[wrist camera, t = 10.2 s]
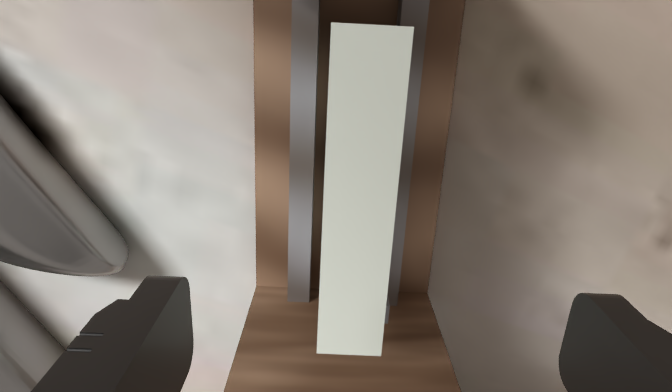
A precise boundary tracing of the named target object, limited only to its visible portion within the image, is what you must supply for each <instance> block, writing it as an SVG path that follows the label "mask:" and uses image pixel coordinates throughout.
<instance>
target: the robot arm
mask: <svg viewBox="0 0 672 392" xmlns="http://www.w3.org/2000/svg"><path fill="white" fill-rule="evenodd" d="M192 355H193V329H192V315H191V301H190V288H189V282H188V280H187V278H186V277H170V276H147V277H146V278H145V279H144V280H143V282H142V283H141V284H140V286H139V287H138V288H137V290H136V291H135V292H134V294H133V295H132V296H131V298H130V299H129V300H123V299H118V300H116V301H115V302H113V303H112V304H110V305H108V306H107V307H105V308H104V309H102V310H101V311H99V312H97V313H96V314H95V315H94V316H93V317H92V318H91V319H90V321H89V322H88V323H87V324H86V325H85V327H84V328H83V329H82V330H81V332H80V335H79V336H76V338H75V339H74V340H73V341H72V342H71V344H70V345H69V346H68V347H67V351H66V352H63V353H62V354H61V356H60V357H59V358H58V359H57V361H56V362H55V363H54V364H53V365H52V367H51V368H50V369H49V370H48V371H47V373H46V374H45V375H44V376H43V377H42V379H41V380H40V381H39V382H38V383H37V385H36V386H35V387H34V388H33V390H32V391H31V392H180V391H181V389H182V387H183V384H184V382H185V379H186V377H187V375H188V372H189V369H190V365H191V361H192ZM559 371H560V376H561V379H562V382H563V384H564V386H565V388H566V390H567V391H568V392H672V334H671V333H669V332H667V331H666V330H664V329H662V328H661V327H659V326H657V325H656V324H654V323H652V322H651V321H649V320H647V319H646V318H645V317H644V316H643V315H642V314H641V313H640V312H639V311H638V310H637V309H635V308H634V307H633V306H632V305H631V304H630V303H629V302H628V301H627V300H626V299H625V298H624V297H622V296H621V295H617V294H593V293H580V294H578V295H577V296H576V297H575V298H574V300H573V303H572V307H571V311H570V314H569V318H568V322H567V326H566V330H565V334H564V338H563V342H562V346H561V350H560V354H559Z"/></svg>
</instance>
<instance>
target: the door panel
mask: <svg viewBox="0 0 672 392" xmlns="http://www.w3.org/2000/svg"><path fill="white" fill-rule="evenodd" d="M413 33H414V27H409V26H390V25H371V24H353V23H334V22H331V36H330V58H329V81H328V104H327V127H326V149H325V172H324V195H323V218H322V240H321V263H320V286H319V309H318V331H317V353H318V354H341V355H365V356H381V353H382V343H383V333H384V323H385V324H388V319H389V309H390V305H389V300H388V295H387V293H388V283H389V273H390V263H391V253H392V243H393V233H394V223H395V213H396V203H397V193H398V183H399V173H400V163H401V153H402V143H403V133H404V123H405V113H406V103H407V93H408V83H409V73H410V63H411V53H412V43H413Z"/></svg>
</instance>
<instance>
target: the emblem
mask: <svg viewBox="0 0 672 392" xmlns="http://www.w3.org/2000/svg"><path fill="white" fill-rule="evenodd" d="M128 255H129V250H128V246H127V244H126V242H125V240H124V239H123V237H122V236H121V235H120V233H119V232H118V231H117V230H116V228H115V227H114V226H113V225H112V224H111V222H110V221H109V220H108V219H107V218H106V217H105V215H104V214H103V213H102V212H101V211H100V210H99V209H98V208H97V206H96V205H95V204H94V203H93V202H92V201H91V200H90V198H89V197H88V196H87V195H86V194H85V193H84V192H83V190H82V189H81V188H80V187H79V186H78V185H77V184H76V182H75V181H74V180H73V179H72V178H71V177H70V176H69V174H68V173H67V172H66V171H65V170H64V169H63V168H62V166H61V165H60V164H59V163H58V162H57V161H56V159H55V158H54V157H53V156H52V155H51V154H50V152H49V151H48V150H47V149H46V148H45V147H44V145H43V144H42V143H41V142H40V141H39V140H38V138H37V137H36V136H35V135H34V134H33V132H32V131H31V130H30V129H29V128H28V127H27V125H26V124H25V123H24V122H23V121H22V119H21V118H20V117H19V116H18V115H17V113H16V112H15V111H14V110H13V109H12V108H11V106H10V105H9V104H8V103H7V102H6V100H5V99H4V98H3V97H2V96H1V94H0V261H2V262H5V263H8V264H12V265H16V266H19V267H24V268H28V269H32V270H38V271H43V272H49V273H55V274H64V275H74V276H104V275H111V274H115V273H117V272H120V271H121V270H122V269H123V268H124V266H125V263H126V261H127V258H128ZM63 352H66V350H65V349H64V348H63V347H62V346H61V345H60V344H59V343H58V342H57V341H56V340H55V338H54V337H53V336H52V335H51V334H50V333H49V332H48V331H47V330H46V329H45V328H44V327H43V326H42V325H41V323H40V322H39V321H38V320H37V319H36V318H35V317H34V316H33V315H32V314H31V313H30V312H29V311H28V309H27V308H26V307H25V306H24V305H23V304H22V303H21V302H20V301H19V300H18V299H17V298H16V297H15V296H14V294H13V293H12V292H11V291H10V290H9V289H8V288H7V287H6V286H5V285H4V284H3V283H2V282H1V281H0V392H31V391H32V390H33V388H34V387H35V386H36V385H37V383H38V382H39V381H40V380H41V379H42V377H43V376H44V375H45V374H46V373H47V371H48V370H49V369H50V368H51V367H52V365H53V364H54V363H55V362H56V361H57V359H58V358H59V357H60V356H61V354H62V353H63Z"/></svg>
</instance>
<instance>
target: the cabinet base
mask: <svg viewBox="0 0 672 392" xmlns="http://www.w3.org/2000/svg"><path fill="white" fill-rule="evenodd" d="M464 6H465V0H253V11H254V104H255V197H256V289H255V292H254V296H253V299H252V302H251V305H250V309H249V312H248V315H247V318H246V321H245V325H244V328H243V331H242V334H241V338H240V341H239V344H238V347H237V351H236V354H235V357H234V360H233V363H232V367H231V370H230V373H229V376H228V380H227V383H226V386H225V389H224V392H461V390H460V387H459V384H458V381H457V379H456V376H455V373H454V370H453V367H452V364H451V361H450V358H449V355H448V352H447V349H446V346H445V344H444V341H443V338H442V335H441V332H440V329H439V326H438V323H437V320H436V317H435V314H434V311H433V308H432V306H431V303H430V300H429V297H428V294H427V291H428V284H429V276H430V268H431V261H432V253H433V245H434V237H435V230H436V222H437V214H438V207H439V199H440V191H441V183H442V176H443V168H444V160H445V153H446V145H447V137H448V130H449V122H450V114H451V106H452V99H453V91H454V83H455V76H456V68H457V60H458V52H459V45H460V37H461V29H462V22H463V14H464ZM331 22H334V23H353V24H371V25H390V26H409V27H414V33H413V43H412V53H411V63H410V73H409V83H408V93H407V103H406V113H405V123H404V133H403V143H402V153H401V163H400V173H399V183H398V193H397V203H396V213H395V223H394V233H393V243H392V253H391V263H390V273H389V283H388V293H387V295H388V300H389V305H390V309H389V319H388V324H385V323H384V333H383V343H382V353H381V356H365V355H341V354H318V353H317V331H318V309H319V286H320V263H321V240H322V218H323V195H324V172H325V149H326V127H327V104H328V81H329V58H330V36H331Z"/></svg>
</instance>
